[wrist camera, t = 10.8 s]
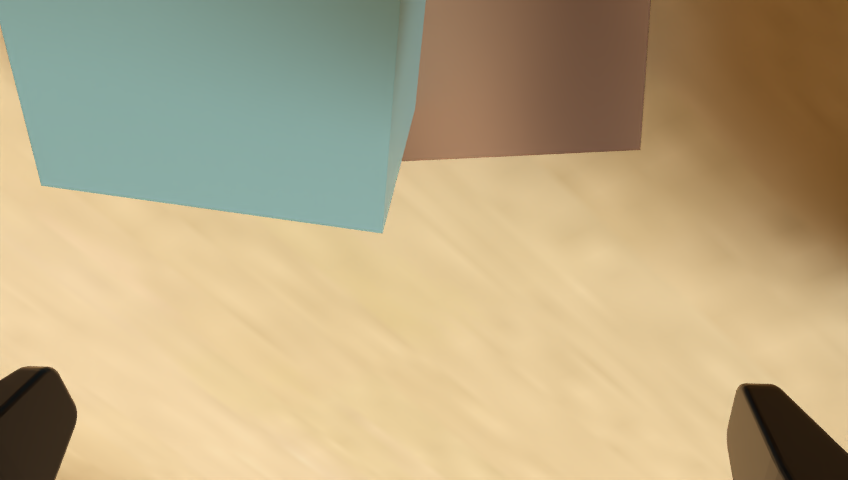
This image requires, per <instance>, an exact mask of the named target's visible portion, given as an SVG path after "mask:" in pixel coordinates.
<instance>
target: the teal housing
mask: <svg viewBox="0 0 848 480" xmlns="http://www.w3.org/2000/svg"><path fill="white" fill-rule="evenodd" d="M425 3H426V0H0V25H1V29H2V33H3V37H4V41H5V45H6V49H7V53H8V57H9V61H10V65H11V68H12V72H13V76H14V80H15V84H16V88H17V92H18V96H19V100H20V104H21V108H22V111H23V115H24V119H25V123H26V127H27V131H28V135H29V139H30V143H31V147H32V151H33V155H34V158H35V162H36V166H37V170H38V174H39V178H40V182H41V186H48V187H55V188H62V189H70V190H77V191H84V192H91V193H98V194H105V195H112V196H120V197H127V198H134V199H141V200H148V201H155V202H162V203H169V204H177V205H184V206H191V207H198V208H205V209H212V210H219V211H227V212H234V213H241V214H248V215H255V216H262V217H269V218H277V219H284V220H291V221H298V222H305V223H312V224H319V225H326V226H334V227H341V228H348V229H355V230H362V231H369V232H376V233H383V229H384V225H385V222H386V218H387V214H388V210H389V206H390V203H391V199H392V195H393V191H394V187H395V183H396V180H397V176H398V172H399V168H400V164H401V161H402V157H403V153H404V149H405V145H406V142H407V138H408V134H409V130H410V126H411V123H412V119H413V115H414V111H415V105H416V94H417V84H418V74H419V64H420V54H421V44H422V34H423V24H424V14H425Z"/></svg>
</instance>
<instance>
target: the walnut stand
mask: <svg viewBox="0 0 848 480" xmlns="http://www.w3.org/2000/svg"><path fill="white" fill-rule="evenodd" d="M650 4H651V0H426V3H425V14H424V24H423V34H422V44H421V54H420V64H419V74H418V84H417V94H416V105H415V111H414V115H413V119H412V123H411V126H410V130H409V134H408V138H407V142H406V145H405V149H404V153H403V157H402V161H417V160H438V159H459V158H480V157H501V156H522V155H543V154H564V153H584V152H605V151H626V150H640V145H641V131H642V117H643V103H644V88H645V74H646V60H647V46H648V32H649V18H650Z"/></svg>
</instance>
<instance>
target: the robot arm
mask: <svg viewBox="0 0 848 480" xmlns="http://www.w3.org/2000/svg"><path fill="white" fill-rule="evenodd" d="M76 420H77V409H76V406H75V403H74V401H73V400H72V398H71V396H70V394H69V392H68V390H67V388H66V386H65V384H64V383H63V381H62V379H61V377H60V375H59V373H58V372H57V371H56V370H55V369H53V368H51V367H37V366H27V367H22V368H20V369H18V370H16V371H14V372H13V373H11V374H10V375H8V376H6V377H5V378H3V379H2V380H0V480H55V479H56V476H57V473H58V471H59V468H60V465H61V463H62V460H63V457H64V454H65V452H66V449H67V446H68V444H69V441H70V438H71V436H72V433H73V430H74V428H75V425H76ZM727 446H728V453H729V459H730V465H731V471H732V477H733V480H848V453H847V452H846V451H845V450H844V449H843V448H842V447H840V446H839V445H838V444H837V443H836V442H835V441H834V440H833V439H832V438H831V437H830V436H829V435H828V434H827V433H826V432H825V431H824V430H823V429H822V428H821V427H820V426H819V425H818V424H817V423H816V422H815V421H814V420H813V419H812V418H810V417H809V416H808V415H807V414H806V413H805V412H804V411H803V410H802V409H801V408H800V407H799V406H798V405H797V404H796V403H795V402H794V401H793V400H792V399H791V398H790V397H789V396H788V395H787V394H786V393H785V392H784V391H783V390H781V389H780V388H779V387H777V386H775V385H773V384H748V383H745V384H741V385H740V386H739V387H738V389H737V390H736V394H735V398H734V402H733V407H732V411H731V415H730V420H729V424H728V429H727Z"/></svg>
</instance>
